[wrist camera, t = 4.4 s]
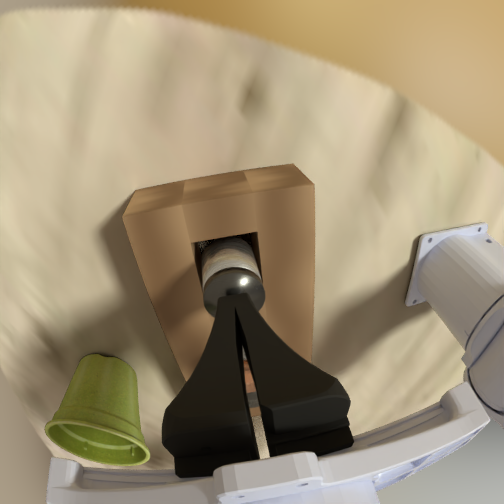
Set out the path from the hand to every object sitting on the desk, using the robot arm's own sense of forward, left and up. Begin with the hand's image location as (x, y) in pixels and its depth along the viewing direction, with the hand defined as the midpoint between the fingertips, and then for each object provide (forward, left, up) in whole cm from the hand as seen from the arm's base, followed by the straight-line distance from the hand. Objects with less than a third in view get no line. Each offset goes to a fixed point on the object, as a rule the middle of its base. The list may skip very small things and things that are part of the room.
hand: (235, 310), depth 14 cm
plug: (0, 0, -4) cm, 4 cm away
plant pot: (+14, +13, -8) cm, 21 cm away
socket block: (0, +7, -8) cm, 10 cm away
